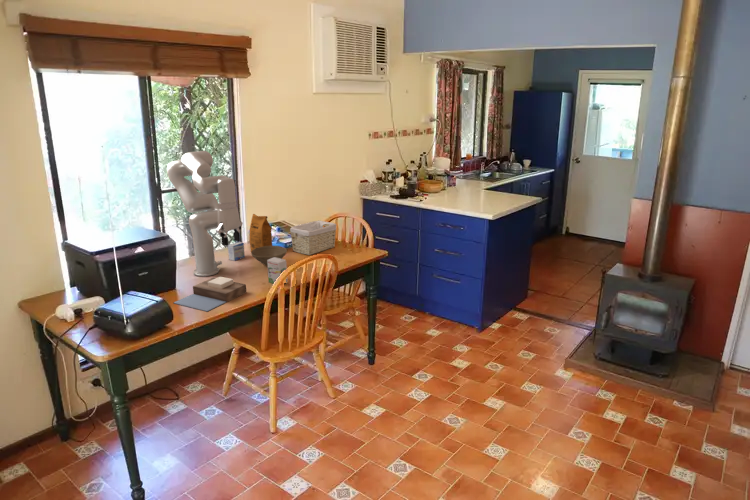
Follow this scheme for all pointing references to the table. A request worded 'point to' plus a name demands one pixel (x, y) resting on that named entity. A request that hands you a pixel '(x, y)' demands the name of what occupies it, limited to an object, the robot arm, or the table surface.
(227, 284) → the coaster
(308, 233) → the storage basket
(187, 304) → the mat
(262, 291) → the table surface
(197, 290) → the brown flat block
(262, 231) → the coffee package
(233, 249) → the medicine box
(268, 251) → the bowl
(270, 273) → the ink box
